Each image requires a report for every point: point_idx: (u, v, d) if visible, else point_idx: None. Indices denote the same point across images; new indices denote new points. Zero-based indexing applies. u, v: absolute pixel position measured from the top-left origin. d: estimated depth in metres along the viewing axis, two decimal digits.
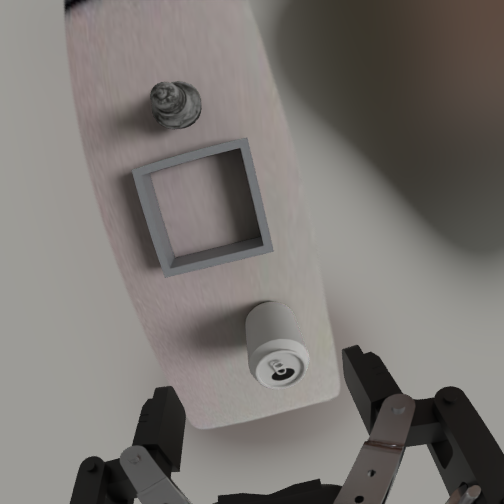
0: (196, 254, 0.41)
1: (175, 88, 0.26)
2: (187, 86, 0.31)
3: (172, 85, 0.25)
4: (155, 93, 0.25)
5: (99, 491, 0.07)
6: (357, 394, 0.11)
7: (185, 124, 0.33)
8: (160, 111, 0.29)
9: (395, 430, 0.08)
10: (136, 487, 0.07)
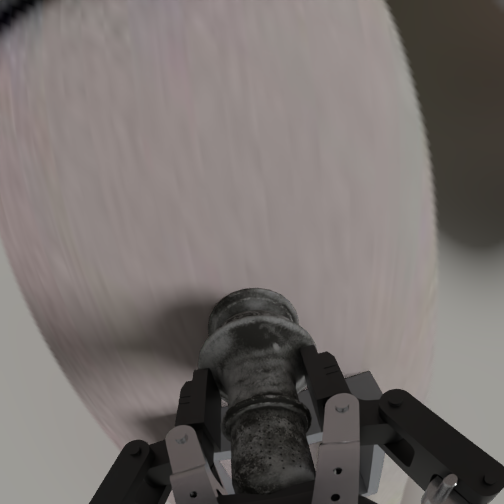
0: None
1: (312, 479, 0.08)
2: (290, 330, 0.14)
3: (304, 478, 0.08)
4: None
5: (135, 477, 0.08)
6: (311, 392, 0.12)
7: None
8: None
9: (346, 427, 0.08)
10: (173, 468, 0.08)
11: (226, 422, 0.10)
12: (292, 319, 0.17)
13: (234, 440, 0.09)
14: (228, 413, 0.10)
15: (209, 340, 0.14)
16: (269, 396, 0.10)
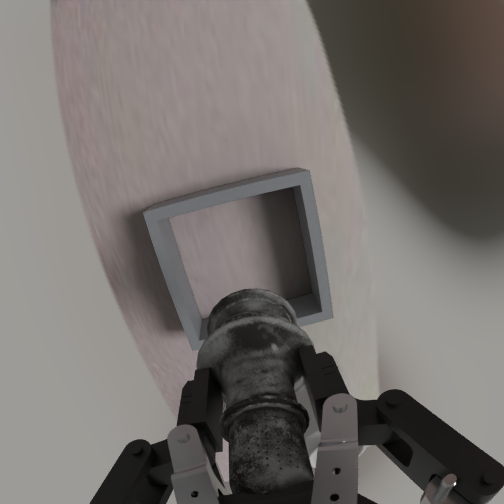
0: None
1: (309, 480, 0.08)
2: (288, 331, 0.14)
3: (302, 479, 0.08)
4: None
5: (137, 477, 0.08)
6: (309, 392, 0.12)
7: None
8: None
9: (344, 427, 0.09)
10: (174, 467, 0.08)
11: (225, 422, 0.10)
12: (291, 320, 0.17)
13: (232, 440, 0.09)
14: (226, 413, 0.10)
15: (207, 340, 0.14)
16: (267, 397, 0.10)
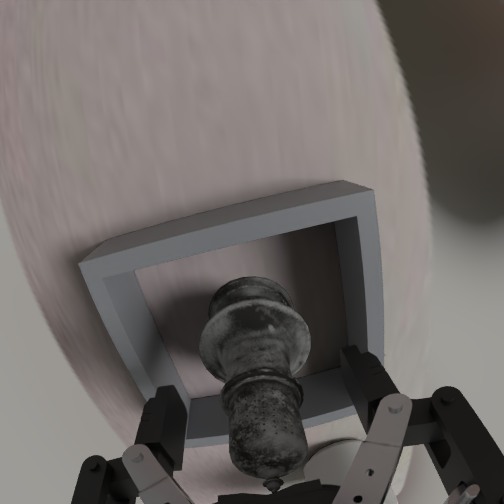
0: None
1: (303, 447, 0.09)
2: (284, 313, 0.15)
3: (296, 444, 0.09)
4: (250, 468, 0.09)
5: (101, 490, 0.07)
6: (354, 394, 0.11)
7: None
8: None
9: (392, 430, 0.08)
10: (138, 486, 0.07)
11: (225, 396, 0.12)
12: None
13: (231, 411, 0.11)
14: (226, 386, 0.12)
15: (209, 322, 0.15)
16: (264, 370, 0.11)
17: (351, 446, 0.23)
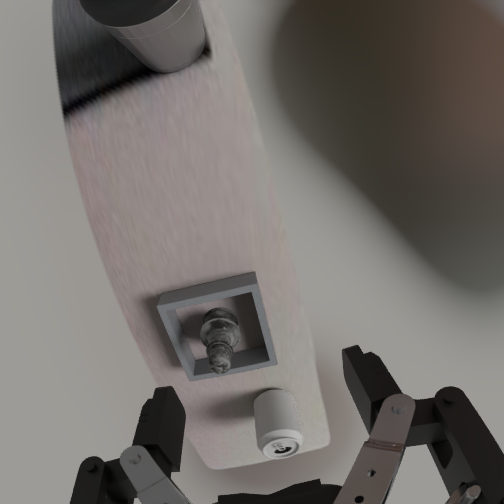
0: None
1: (228, 362, 0.36)
2: (229, 322, 0.42)
3: (225, 361, 0.36)
4: (213, 368, 0.36)
5: (99, 491, 0.07)
6: (357, 394, 0.11)
7: None
8: None
9: (395, 430, 0.08)
10: (136, 487, 0.07)
11: (207, 349, 0.39)
12: (235, 319, 0.46)
13: (209, 352, 0.38)
14: (208, 346, 0.39)
15: (203, 325, 0.42)
16: (219, 340, 0.39)
17: (276, 391, 0.50)
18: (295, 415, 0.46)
